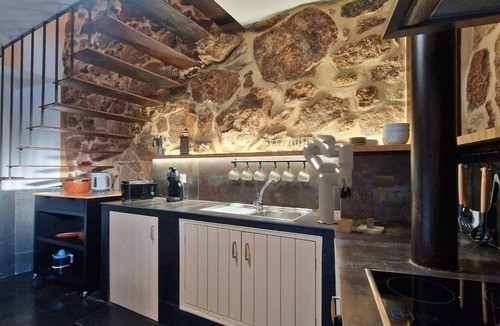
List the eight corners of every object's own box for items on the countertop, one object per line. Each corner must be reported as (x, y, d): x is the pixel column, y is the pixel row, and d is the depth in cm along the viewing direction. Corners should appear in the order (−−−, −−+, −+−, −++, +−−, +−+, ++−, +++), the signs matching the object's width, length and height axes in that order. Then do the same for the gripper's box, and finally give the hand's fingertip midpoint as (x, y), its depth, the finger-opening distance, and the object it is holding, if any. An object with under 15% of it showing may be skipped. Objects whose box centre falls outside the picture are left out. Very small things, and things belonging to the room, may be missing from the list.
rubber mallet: (393, 223, 162) (393, 175, 163) (395, 226, 155) (395, 175, 156) (371, 222, 167) (371, 175, 167) (372, 224, 160) (372, 175, 160)
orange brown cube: (338, 231, 142) (338, 220, 142) (341, 229, 147) (341, 218, 147) (349, 232, 139) (349, 221, 139) (352, 230, 144) (352, 219, 144)
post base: (356, 231, 143) (356, 219, 143) (361, 227, 152) (361, 215, 152) (380, 234, 136) (380, 221, 136) (383, 230, 145) (383, 218, 145)
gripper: (343, 166, 153) (343, 195, 153) (334, 166, 139) (334, 198, 138) (356, 166, 149) (356, 196, 148) (348, 166, 134) (348, 199, 134)
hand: (345, 197), depth 143 cm, fingers open, 9 cm apart
